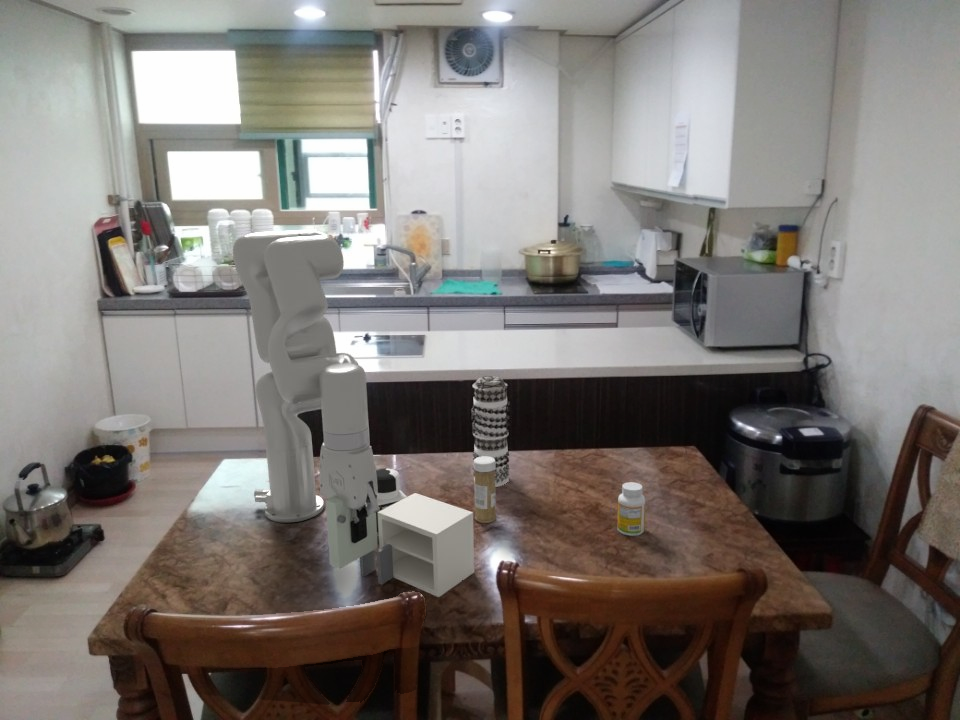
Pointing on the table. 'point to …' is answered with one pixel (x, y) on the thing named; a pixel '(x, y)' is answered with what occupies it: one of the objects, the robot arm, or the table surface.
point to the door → (347, 534)
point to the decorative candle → (491, 424)
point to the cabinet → (423, 544)
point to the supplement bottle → (631, 510)
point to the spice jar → (485, 489)
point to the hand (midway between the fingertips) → (353, 536)
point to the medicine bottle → (388, 490)
